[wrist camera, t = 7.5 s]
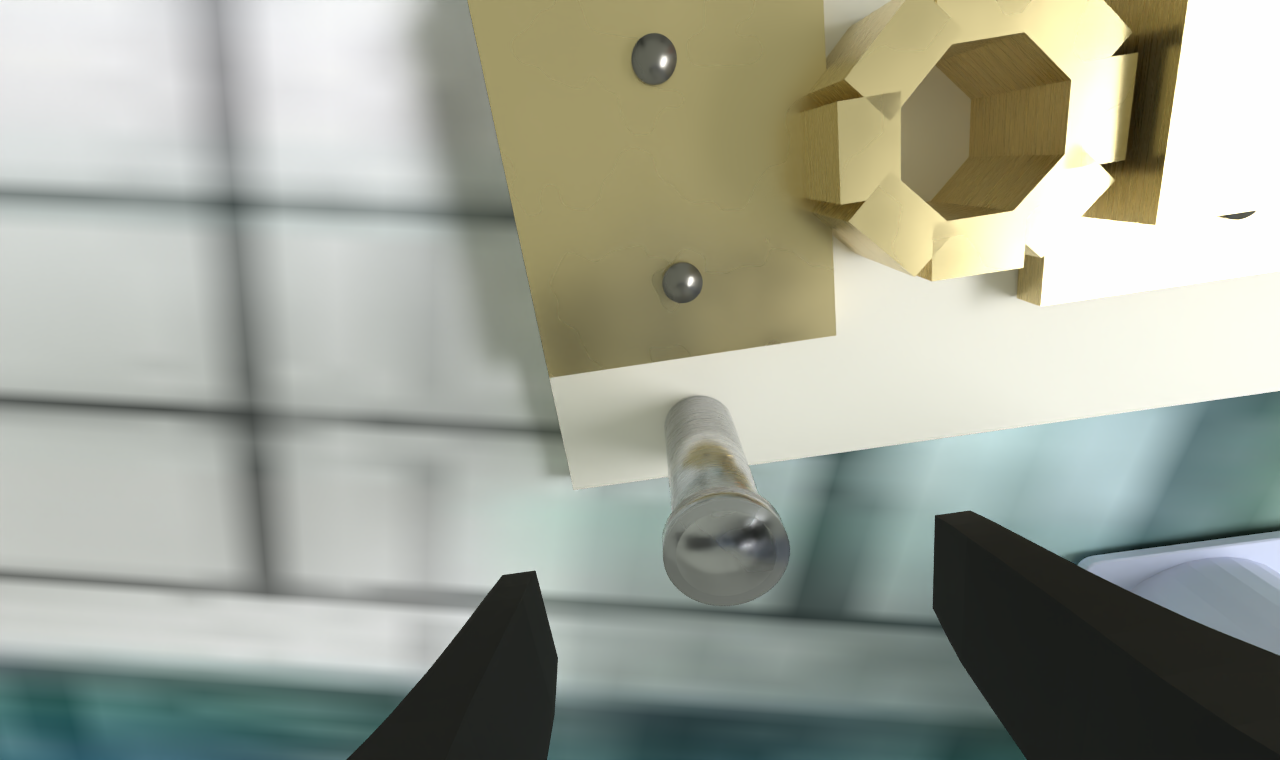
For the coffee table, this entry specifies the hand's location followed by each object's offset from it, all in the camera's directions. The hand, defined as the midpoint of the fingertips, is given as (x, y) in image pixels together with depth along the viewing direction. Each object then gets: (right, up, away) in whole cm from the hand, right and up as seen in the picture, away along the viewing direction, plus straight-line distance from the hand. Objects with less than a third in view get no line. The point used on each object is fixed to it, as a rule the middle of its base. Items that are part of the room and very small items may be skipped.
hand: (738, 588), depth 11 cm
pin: (0, +2, +7) cm, 7 cm away
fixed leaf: (+1, +9, +4) cm, 10 cm away
